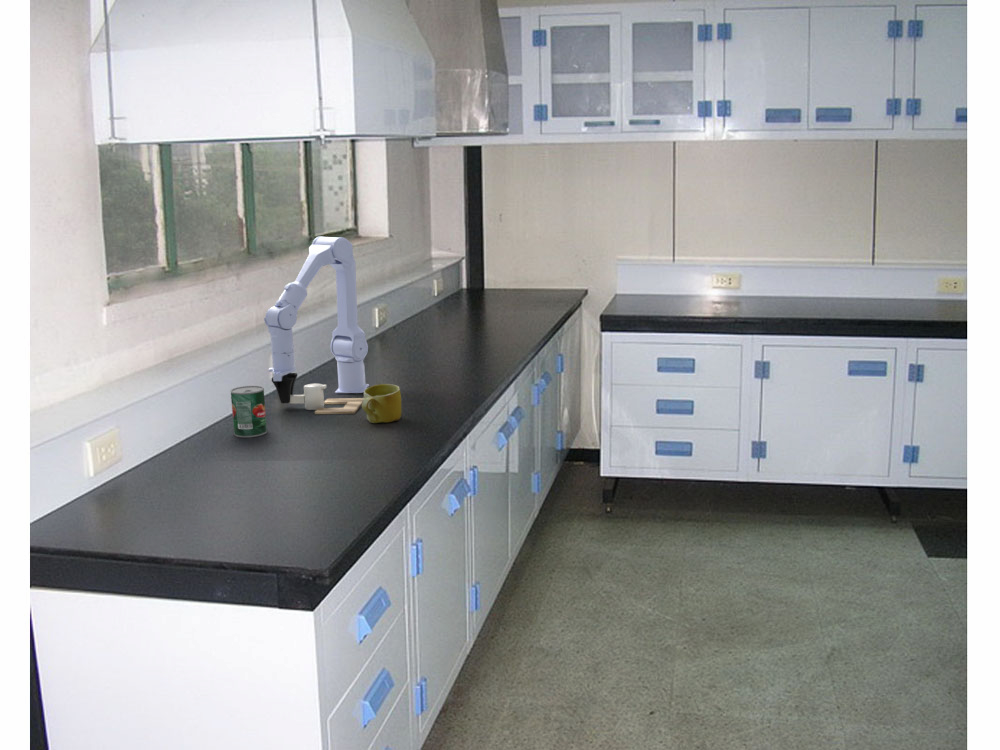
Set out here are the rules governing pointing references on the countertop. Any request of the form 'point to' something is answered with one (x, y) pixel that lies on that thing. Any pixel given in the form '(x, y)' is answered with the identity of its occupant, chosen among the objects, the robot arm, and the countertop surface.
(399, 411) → the mug
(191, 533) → the countertop surface
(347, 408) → the dock
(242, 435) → the canned tomato
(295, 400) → the white piece
